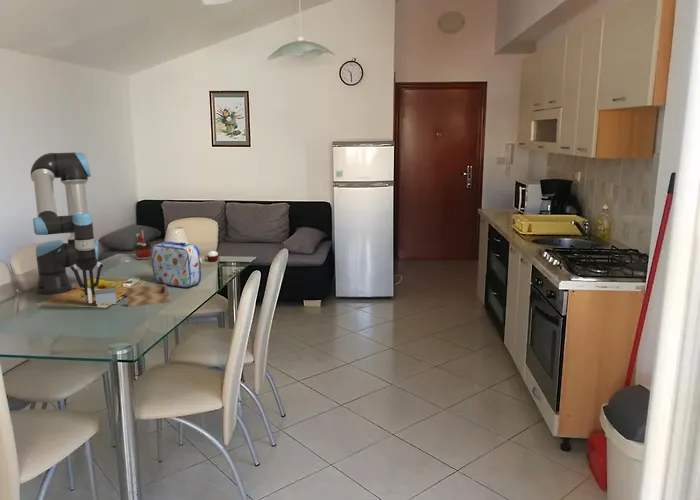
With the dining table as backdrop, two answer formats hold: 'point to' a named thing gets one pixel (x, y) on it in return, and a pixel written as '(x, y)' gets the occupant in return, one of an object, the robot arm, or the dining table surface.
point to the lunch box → (176, 264)
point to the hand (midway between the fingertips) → (90, 302)
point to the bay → (147, 295)
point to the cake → (142, 248)
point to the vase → (176, 235)
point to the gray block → (105, 296)
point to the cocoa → (213, 255)
